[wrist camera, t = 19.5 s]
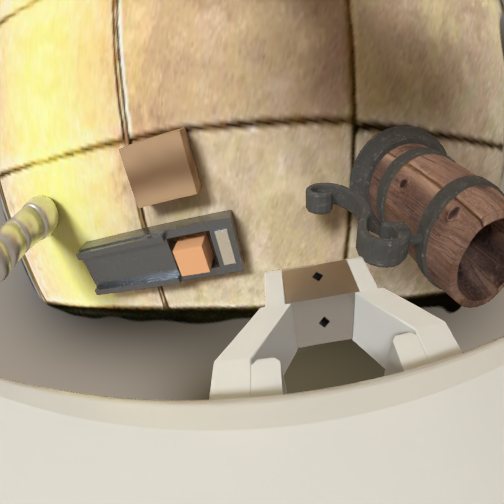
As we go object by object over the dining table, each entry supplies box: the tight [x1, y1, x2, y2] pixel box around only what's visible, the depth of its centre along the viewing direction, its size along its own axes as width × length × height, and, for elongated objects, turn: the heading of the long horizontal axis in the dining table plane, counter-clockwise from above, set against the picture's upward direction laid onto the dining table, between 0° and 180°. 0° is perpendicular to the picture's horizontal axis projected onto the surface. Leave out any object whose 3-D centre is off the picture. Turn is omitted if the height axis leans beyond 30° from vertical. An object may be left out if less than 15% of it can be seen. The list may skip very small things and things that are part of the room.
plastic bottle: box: [0, 195, 59, 282], centre depth 30 cm, size 6×7×20 cm
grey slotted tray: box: [77, 210, 244, 295], centre depth 41 cm, size 8×24×4 cm, turn 102°
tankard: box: [306, 125, 504, 308], centre depth 28 cm, size 24×17×20 cm
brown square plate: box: [119, 127, 201, 208], centre depth 34 cm, size 8×8×3 cm
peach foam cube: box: [173, 232, 214, 276], centre depth 40 cm, size 4×4×4 cm
